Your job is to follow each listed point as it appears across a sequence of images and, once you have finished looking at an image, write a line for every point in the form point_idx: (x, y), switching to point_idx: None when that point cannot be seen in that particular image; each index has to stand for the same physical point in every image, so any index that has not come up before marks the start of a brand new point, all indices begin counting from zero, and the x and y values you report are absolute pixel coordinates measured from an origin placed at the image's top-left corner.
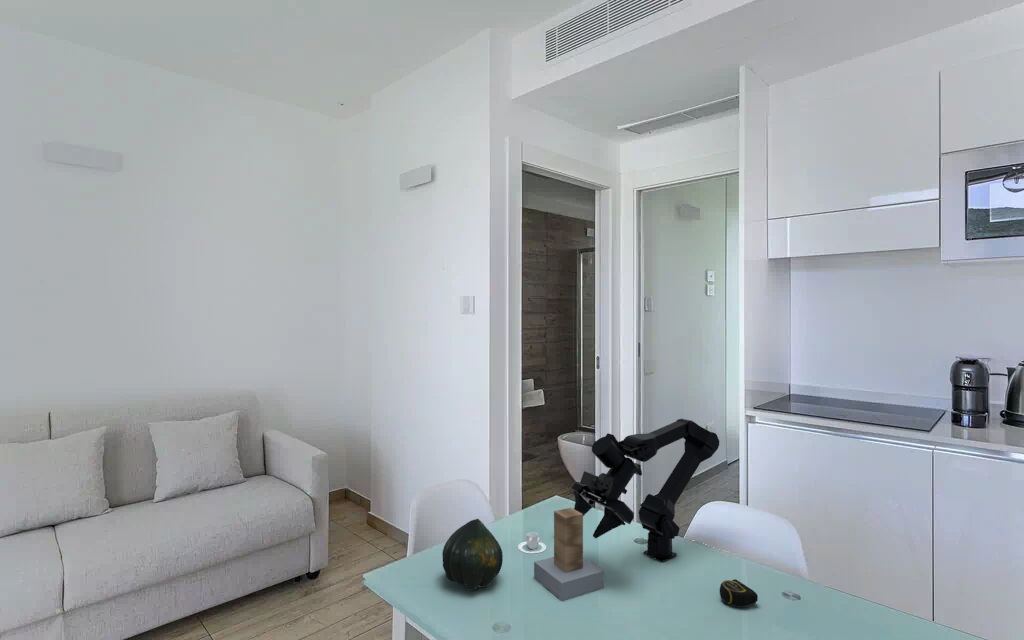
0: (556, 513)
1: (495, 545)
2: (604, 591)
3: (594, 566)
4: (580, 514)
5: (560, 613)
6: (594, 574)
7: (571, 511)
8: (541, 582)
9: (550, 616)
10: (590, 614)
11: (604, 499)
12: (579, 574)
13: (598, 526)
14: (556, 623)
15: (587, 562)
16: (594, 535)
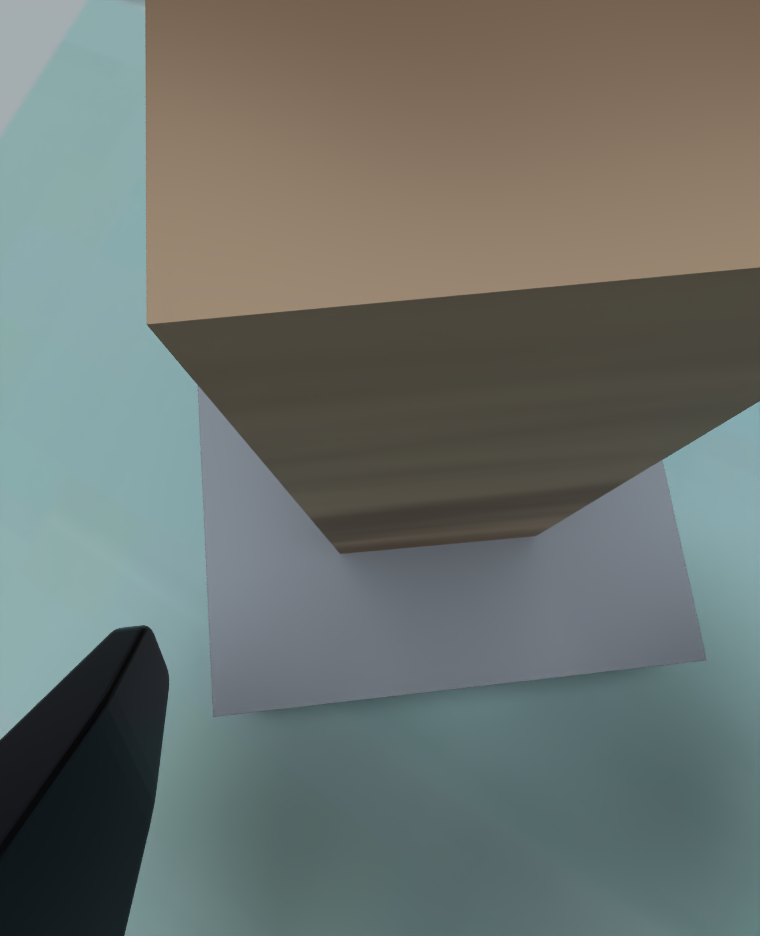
0: None
1: None
2: (203, 671)
3: (328, 680)
4: (171, 227)
5: (111, 266)
6: (208, 600)
7: (583, 69)
8: None
9: (113, 204)
10: (11, 422)
11: None
12: (253, 467)
13: (4, 788)
14: (37, 205)
15: (429, 660)
16: (106, 644)
